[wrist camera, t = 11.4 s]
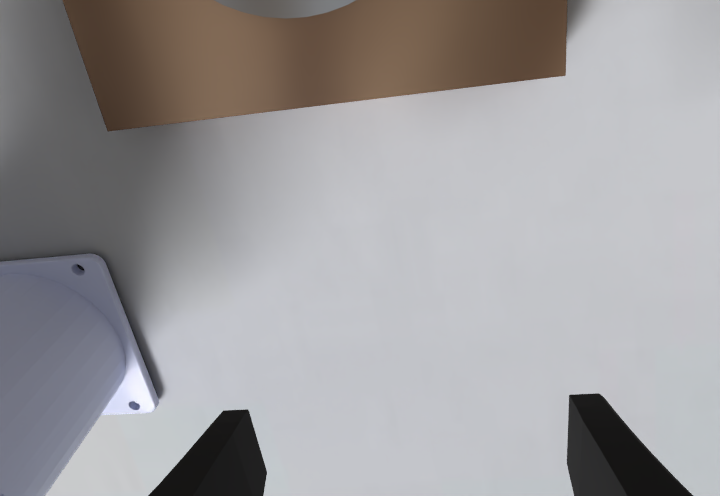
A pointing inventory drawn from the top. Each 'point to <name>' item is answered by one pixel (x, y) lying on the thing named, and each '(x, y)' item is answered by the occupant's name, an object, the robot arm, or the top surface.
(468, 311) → the top surface
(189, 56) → the walnut base
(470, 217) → the top surface
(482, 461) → the top surface
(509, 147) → the top surface
